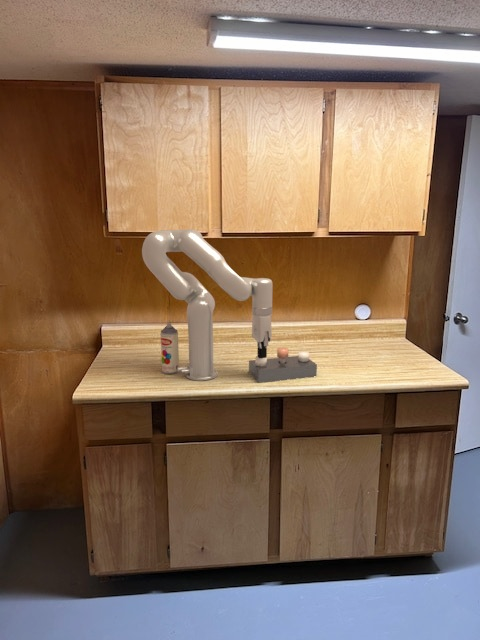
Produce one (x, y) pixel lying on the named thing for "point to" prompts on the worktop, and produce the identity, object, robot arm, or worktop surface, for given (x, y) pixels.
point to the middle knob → (282, 354)
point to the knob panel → (282, 369)
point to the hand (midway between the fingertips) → (262, 357)
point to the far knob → (303, 356)
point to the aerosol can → (169, 350)
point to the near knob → (260, 361)
